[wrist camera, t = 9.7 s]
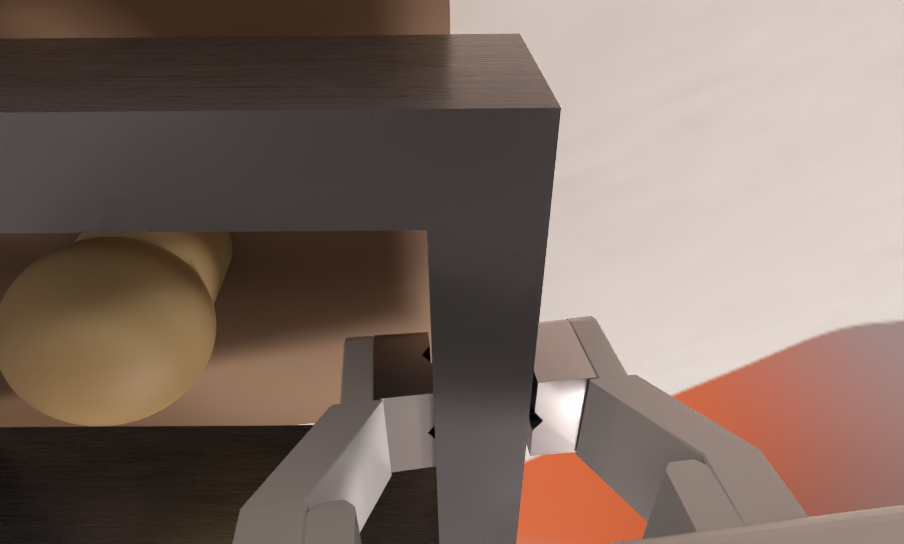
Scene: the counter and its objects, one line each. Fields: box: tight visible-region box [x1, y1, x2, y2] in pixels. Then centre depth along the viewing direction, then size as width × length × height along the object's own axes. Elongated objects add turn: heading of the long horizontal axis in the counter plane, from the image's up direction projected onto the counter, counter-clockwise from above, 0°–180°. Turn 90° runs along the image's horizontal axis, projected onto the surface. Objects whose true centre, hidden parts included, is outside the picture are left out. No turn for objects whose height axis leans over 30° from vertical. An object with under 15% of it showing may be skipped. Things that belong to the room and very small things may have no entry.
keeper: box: [0, 0, 450, 427], centre depth 12 cm, size 14×14×7 cm
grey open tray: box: [0, 34, 561, 544], centre depth 10 cm, size 11×15×4 cm
